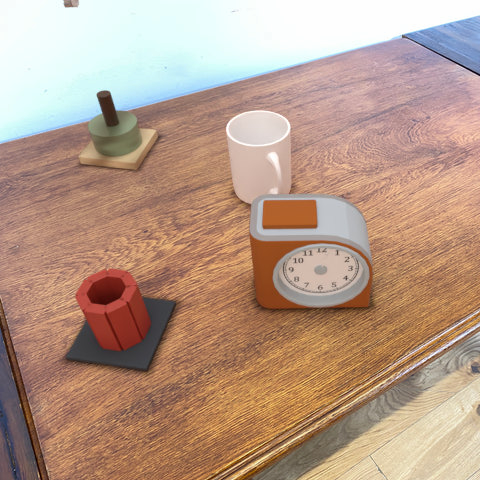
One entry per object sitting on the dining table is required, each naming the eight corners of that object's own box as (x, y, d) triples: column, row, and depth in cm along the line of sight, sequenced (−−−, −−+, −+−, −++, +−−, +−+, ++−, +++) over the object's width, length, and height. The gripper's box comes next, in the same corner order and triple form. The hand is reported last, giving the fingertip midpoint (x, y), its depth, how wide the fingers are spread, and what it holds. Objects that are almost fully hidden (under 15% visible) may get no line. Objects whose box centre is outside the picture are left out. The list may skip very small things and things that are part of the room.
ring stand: (80, 163, 87) (58, 106, 79) (106, 131, 94) (88, 75, 86) (137, 170, 86) (120, 113, 79) (158, 136, 93) (145, 81, 86)
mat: (66, 359, 61) (65, 357, 61) (103, 294, 68) (102, 291, 68) (147, 371, 60) (146, 368, 60) (176, 304, 67) (175, 301, 67)
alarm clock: (255, 311, 66) (246, 238, 57) (258, 262, 72) (251, 189, 63) (368, 309, 67) (379, 236, 57) (362, 260, 73) (371, 187, 63)
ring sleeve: (86, 346, 62) (66, 308, 56) (109, 304, 66) (92, 265, 61) (137, 353, 61) (121, 316, 56) (157, 310, 66) (144, 272, 60)
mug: (267, 163, 88) (263, 103, 80) (314, 197, 82) (315, 136, 74) (222, 187, 84) (213, 125, 75) (268, 225, 78) (264, 163, 69)
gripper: (-146, -124, 49) (-71, 22, 59) (80, -125, 52) (115, 14, 62) (-119, -137, 53) (-54, 0, 63) (88, -137, 56) (119, -6, 66)
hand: (31, 7), depth 62 cm, fingers open, 8 cm apart
